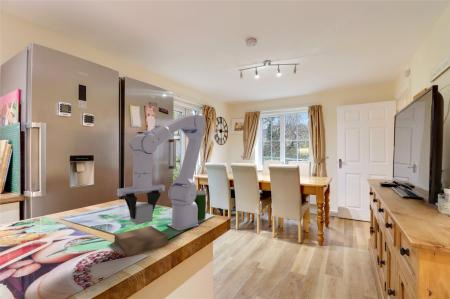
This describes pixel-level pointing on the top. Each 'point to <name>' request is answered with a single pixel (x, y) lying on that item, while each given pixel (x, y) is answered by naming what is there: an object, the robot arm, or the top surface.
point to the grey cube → (143, 213)
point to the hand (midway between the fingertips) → (141, 216)
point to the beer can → (201, 204)
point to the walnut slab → (140, 240)
